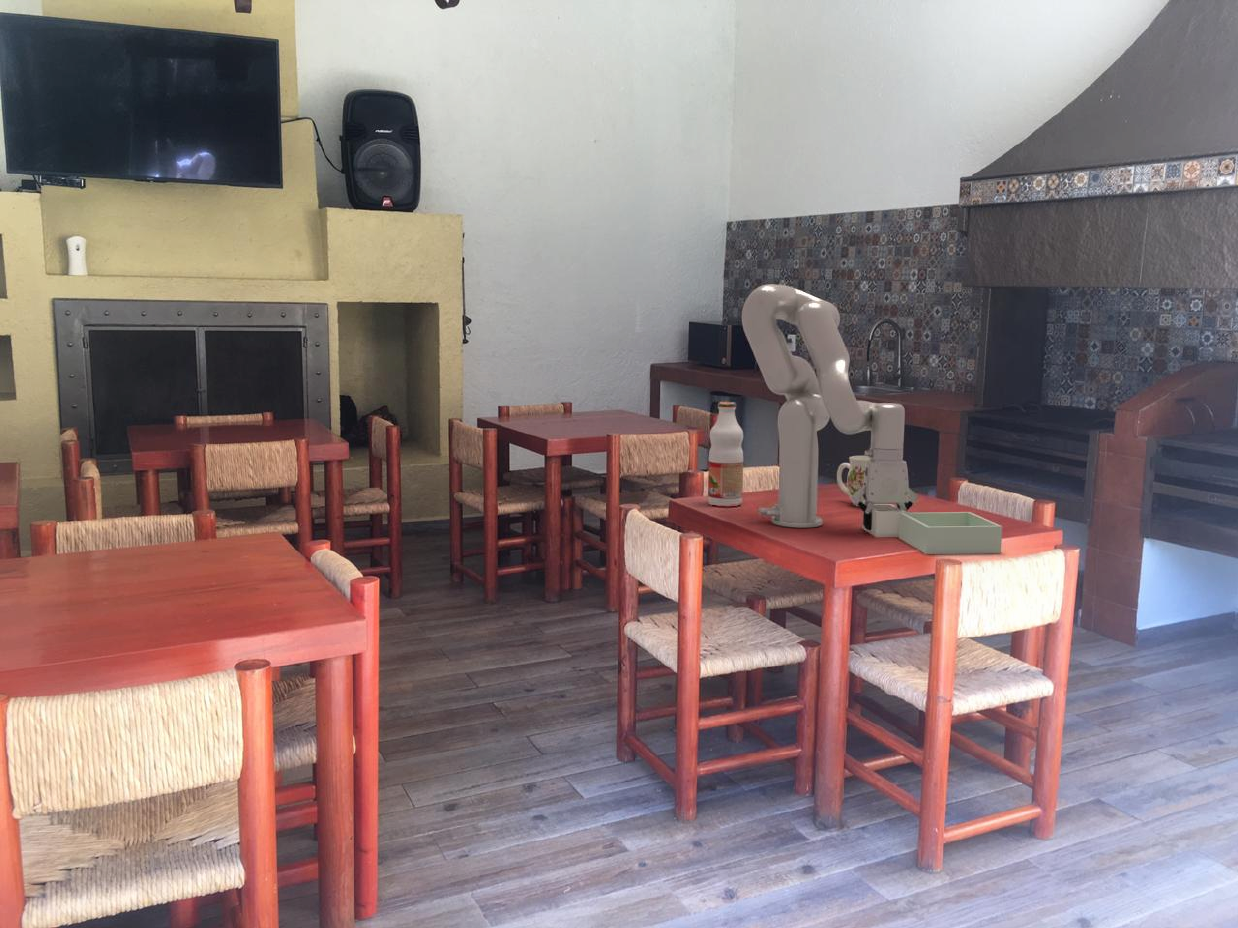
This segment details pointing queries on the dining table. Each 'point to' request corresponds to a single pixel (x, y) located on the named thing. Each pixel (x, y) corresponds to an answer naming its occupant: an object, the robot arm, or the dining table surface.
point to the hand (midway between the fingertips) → (883, 528)
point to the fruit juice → (725, 458)
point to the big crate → (950, 533)
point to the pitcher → (853, 475)
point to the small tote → (885, 520)
